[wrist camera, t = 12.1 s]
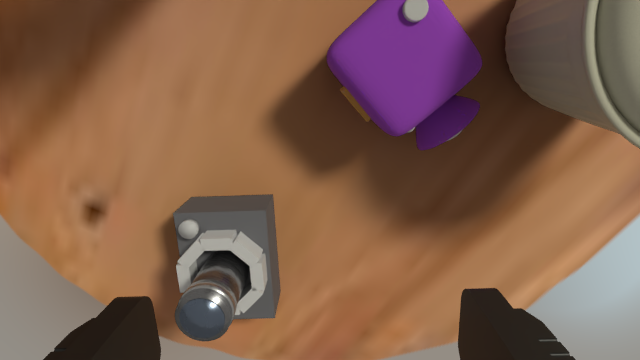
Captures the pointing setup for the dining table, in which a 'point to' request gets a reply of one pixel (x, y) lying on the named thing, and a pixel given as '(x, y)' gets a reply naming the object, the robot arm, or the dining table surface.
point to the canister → (580, 59)
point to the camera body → (232, 245)
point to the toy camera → (408, 69)
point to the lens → (212, 297)
